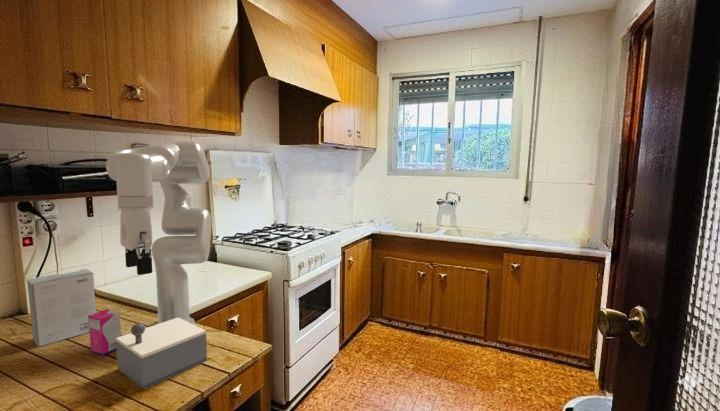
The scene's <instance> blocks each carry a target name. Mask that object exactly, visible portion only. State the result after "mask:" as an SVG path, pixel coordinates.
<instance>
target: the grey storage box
mask: <svg viewBox="0 0 720 411" xmlns="http://www.w3.org/2000/svg"><path fill="white" fill-rule="evenodd" d="M116 347H117V350H116V360H117V370H118V371H120V372H121V373H122V374H123V375H125V376H126V377H127V378H128V379H130V380H131V381H132V382H133V383H135V385H137V386H139V387H140V388H142V390H146V389H147V388H150V387H153V386H155V385H156V384H159V383H161V382H163V381H166V380H168V379H170V378H172V377H174V376H177V375H178V374H180V373H183V372H185V371H188V370H189V369H191V368H194V367H196V366H198V365H200V364H202V363H204V362H206V361H208V353H207V352H208V350H207V347H208V346H207V333H206V334H203V335H201V336H198V337H196V338H193V339H190V340H188V341H185V342H183V343H180V344H178V345H175V346H173V347H170V348H168V349H165V350H162V351H160V352H157V353H155V354H152V355H150V356H147V357H145V358H141V357H139V356H138V355H136V354H135V353H133V352H132V351H130V350H129V349H127V348H126V347H124V346H123V345H121V344H120V343H119V342H117V341H116Z"/></svg>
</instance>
